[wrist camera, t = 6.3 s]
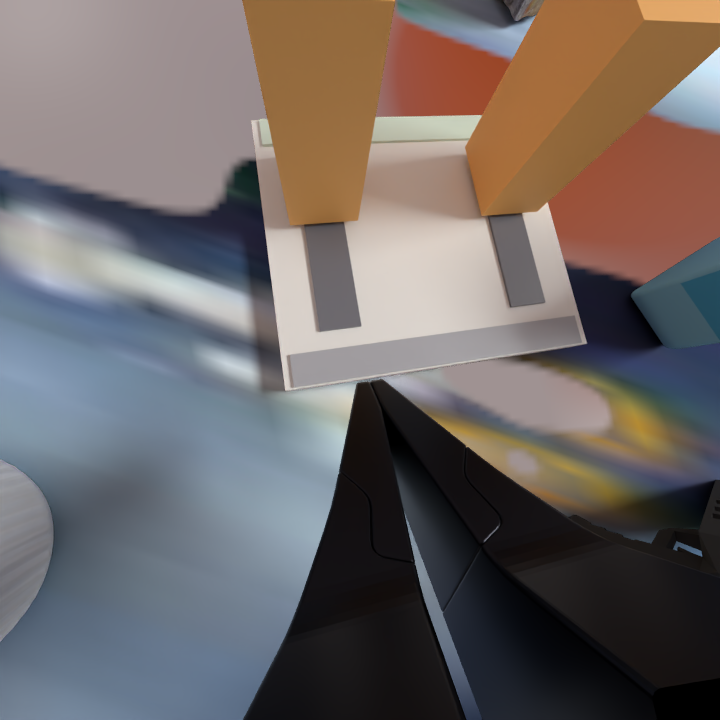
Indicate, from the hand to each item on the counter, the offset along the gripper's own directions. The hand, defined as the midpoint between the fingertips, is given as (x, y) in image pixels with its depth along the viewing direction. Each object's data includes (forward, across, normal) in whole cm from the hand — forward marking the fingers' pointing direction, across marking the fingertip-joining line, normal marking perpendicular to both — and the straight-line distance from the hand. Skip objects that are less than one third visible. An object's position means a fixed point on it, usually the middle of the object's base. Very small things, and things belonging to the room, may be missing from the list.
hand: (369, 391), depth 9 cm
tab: (+13, -12, -5) cm, 18 cm away
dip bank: (+12, -6, -1) cm, 13 cm away
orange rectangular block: (+13, 0, -5) cm, 14 cm away
